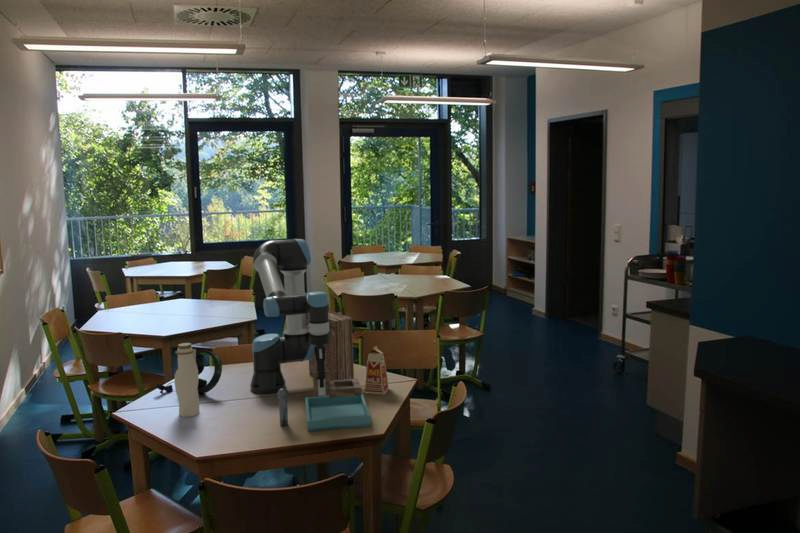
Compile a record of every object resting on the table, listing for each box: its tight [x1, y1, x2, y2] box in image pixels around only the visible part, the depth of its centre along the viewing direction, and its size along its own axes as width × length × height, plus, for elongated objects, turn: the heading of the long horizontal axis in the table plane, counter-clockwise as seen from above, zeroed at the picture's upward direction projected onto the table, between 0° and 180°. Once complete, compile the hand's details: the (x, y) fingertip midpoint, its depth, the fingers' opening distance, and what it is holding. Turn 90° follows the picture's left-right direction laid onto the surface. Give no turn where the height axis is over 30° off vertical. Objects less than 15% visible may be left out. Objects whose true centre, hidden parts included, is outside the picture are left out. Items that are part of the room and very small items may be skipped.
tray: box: [304, 392, 372, 433], centre depth 255 cm, size 26×23×4 cm
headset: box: [154, 350, 223, 395], centre depth 285 cm, size 18×14×29 cm
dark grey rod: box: [276, 387, 289, 427], centre depth 247 cm, size 4×4×14 cm
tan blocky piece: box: [312, 371, 362, 398], centre depth 253 cm, size 12×18×8 cm
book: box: [306, 309, 355, 380], centre depth 300 cm, size 25×9×30 cm, turn 35°
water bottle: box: [174, 342, 200, 418], centre depth 261 cm, size 10×9×28 cm
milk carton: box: [363, 345, 389, 395], centre depth 283 cm, size 9×9×20 cm
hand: (321, 392), depth 253 cm, fingers closed on tan blocky piece, 5 cm apart
